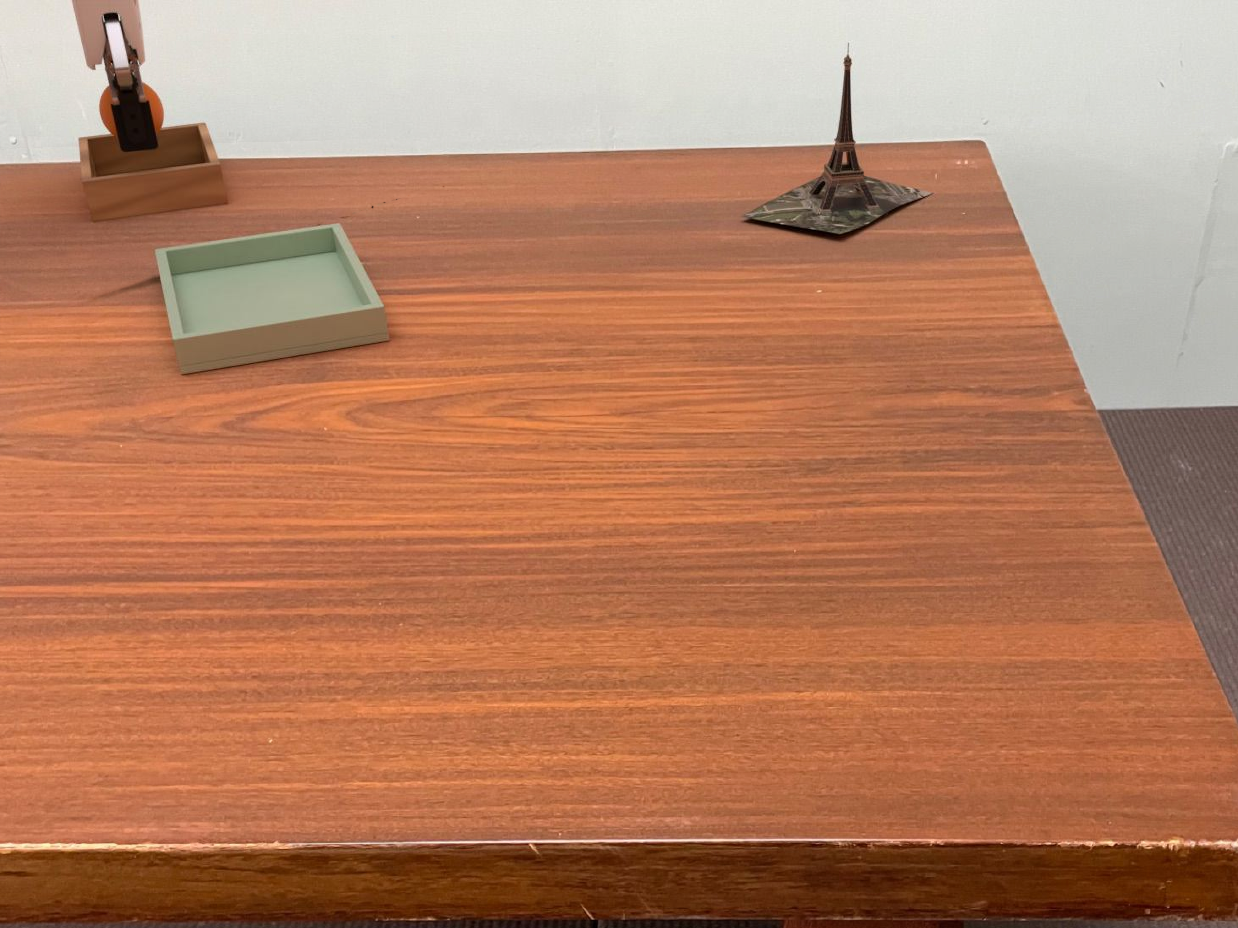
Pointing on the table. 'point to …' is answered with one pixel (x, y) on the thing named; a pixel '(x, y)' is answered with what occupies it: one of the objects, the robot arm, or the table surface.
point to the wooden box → (151, 174)
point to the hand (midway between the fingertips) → (137, 138)
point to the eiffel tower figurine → (838, 187)
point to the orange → (149, 95)
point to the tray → (268, 298)
